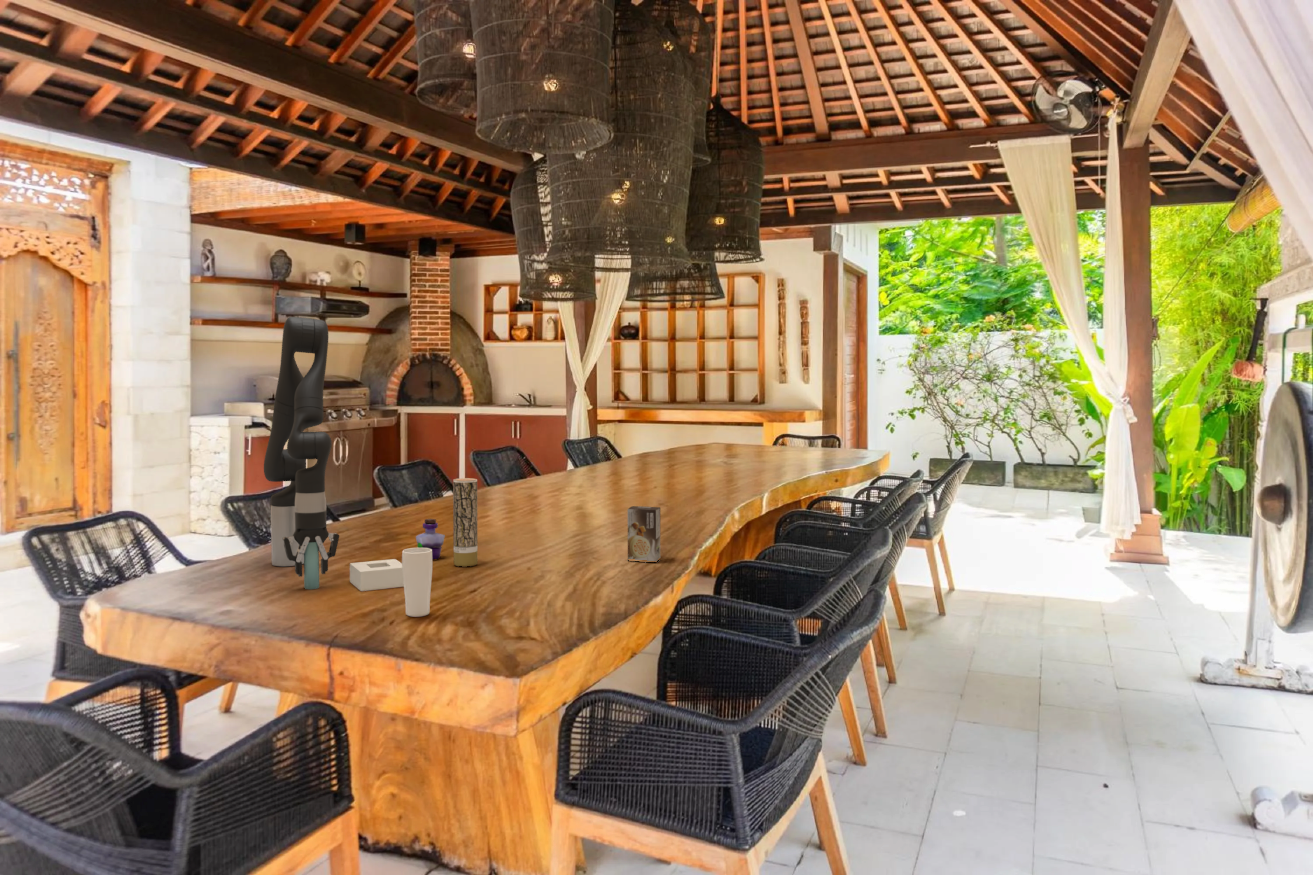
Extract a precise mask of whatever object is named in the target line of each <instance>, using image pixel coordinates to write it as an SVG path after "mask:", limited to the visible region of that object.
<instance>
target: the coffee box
mask: <svg viewBox="0 0 1313 875" xmlns="http://www.w3.org/2000/svg"><path fill="white" fill-rule="evenodd" d="M659 558H661V507H660V506H659V507H657V506H643V505H642V506H641V505H639V506H638V505H632V506H630V507H629V508H627V560H628V559H635V560H647V561H657V560H658V559H659Z"/></svg>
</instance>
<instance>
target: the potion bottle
mask: <svg viewBox="0 0 1313 875" xmlns="http://www.w3.org/2000/svg"><path fill="white" fill-rule="evenodd" d="M422 528H423V529H424V530H425V532H423V533H419V534H417V535H416V536H415V539H416V544H417V546H416V548H429V549H432V561H434V560H433V559H437V560H439V559H440V558H441V552H442V549H443V548H442V546H443V545H444V540H445V537H446V536H445V534H443V533H438V532H436V529H438V528H439V524H438V522H437V520H436V519H435V518H425V519H424V522H423V523H422ZM438 558H439V559H438Z"/></svg>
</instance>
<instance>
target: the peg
mask: <svg viewBox="0 0 1313 875" xmlns="http://www.w3.org/2000/svg"><path fill="white" fill-rule="evenodd" d="M303 580H304V581H303V583H304V585H303V586H304V587H303V588H305V589H304V590H315V589H316V590H317V589H319V588H320V552H319V548H318V545H317V542H310V543H308V545H307V547H306V550H305V553H304V564H303Z"/></svg>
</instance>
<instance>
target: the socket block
mask: <svg viewBox="0 0 1313 875" xmlns="http://www.w3.org/2000/svg"><path fill="white" fill-rule="evenodd" d="M349 583H351V585H353V586H354V587H355V588H357V589H358V590H359V591H360V592H365V591H366V592H368V591H374V590H376V591H377V590H385V589H393V588H404V583H403V573H402V561H401V562H400V561H399V560H397V559H396V558H391V559H381V560H371V561H369V560H368V561H360V562H350V563H349Z"/></svg>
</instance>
